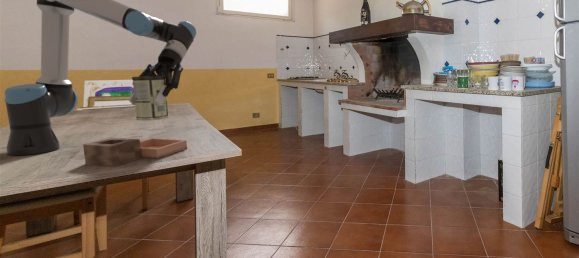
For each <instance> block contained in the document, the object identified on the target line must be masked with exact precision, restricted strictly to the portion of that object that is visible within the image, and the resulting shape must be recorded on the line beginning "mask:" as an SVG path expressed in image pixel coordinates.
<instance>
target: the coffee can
mask: <svg viewBox="0 0 579 258" xmlns="http://www.w3.org/2000/svg"><path fill="white" fill-rule="evenodd" d="M131 79H132V83H133V84H132V86H133V90H134V98H135V105H134V106H135V119H136V120H137V121H157V120H164V119H168V118H169V110H168V96H167V97H166V98H165V99H164V101H163V103H162V105H161V106H159V105H158V104H157V103H156V102H155V101H154V100H155V99H156V97H157V95H158V93H159V92H160V90H161V88H162V86H163V85H165V84H166V82H165V76H142V77H139V76H132V77H131ZM165 86H166V85H165Z"/></svg>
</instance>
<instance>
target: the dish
mask: <svg viewBox="0 0 579 258" xmlns="http://www.w3.org/2000/svg"><path fill="white" fill-rule="evenodd" d="M140 148H141V158H145V159H156V160H157V159H161V158H163V157H166V156H169V155H173V154H175V153H177V152H181V151H184V150H186V149H188V145H187V140H186V139H174V138H173V139H172V138H159V137H158V138H156V137H151V138H148V139H143V140H140Z"/></svg>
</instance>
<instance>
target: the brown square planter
mask: <svg viewBox="0 0 579 258" xmlns="http://www.w3.org/2000/svg"><path fill="white" fill-rule="evenodd" d="M140 141H141V140H140V138H139V139H138V138H124V137H123V138H122V137H110V138H105V139H102V140H97V141H92V142H89V143H84V144H82V148H83V155H84V163H85V165H94V166H101V167H102V166H103V167H113V168H114V167H116V166H120V165H123V164H126V163H129V162H132V161H135V160H139V159H141V158H142V157H141V148H140Z"/></svg>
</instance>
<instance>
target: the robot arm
mask: <svg viewBox="0 0 579 258" xmlns="http://www.w3.org/2000/svg"><path fill="white" fill-rule="evenodd" d="M36 7H37V8H38V9H39V10H41V30H40V31H41V34H40V35H41V39H40V41H41V43H40V44H41V46H40V48H41V49H40V51H41V52H40V77H38V78H37V79H36V80H35V83H26V84H17V85H12V86H10V87H7V88H6V89H5V90H4V102H5V107H6V112H7V118H8V125H9V130H10V131H9V136H8V138H7V139H8V140H7V144H6V154H7V155H8V154H9V156H27V155H38V154H43V153H48V152H49V153H50V152H52V151H56V150H58V149H60V141H59V139H58V138H57V136H56V133H55V132H54V130H53V128H52V124H51V118H55V117H64V116H65V115H68V114H70V113H72V112H74V110H75V109H76V107H77V106H78V102H79V99H78V94H77V92H75V89H73V82H71V80H69V52H70V51H69V46H70V45H69V43H70V41H69V40H70V16H71V15H73V14H74V13H75V10H77V11H80V12H83V13H85V14H87V15H90V16H92V17H95V18H97V19H99V20H101V21H104V22H107V23H109V24H112V25H114V26H117V27H119V28H120V29H121V28H122V29H123V30H125V31H129V32H130V33H132V34H133V35H136V36H139V37H145V38H149V39H153V40H155V41H160V42H162V43H166V44H165V46H164V47H163V48H162V49H161V51H160V53H159V55H158V57H157V63H155V64H154V65H152V64H151V63H148V65H147V66H146V67H145V69H144V70H143V71H142V72H141V73H140V75H138V77H142V76H165V85H166V86H165V85H163V86H162V88H161V90H160V92H159V93H158V95H157V97H156V99H155V100H154V101H155V102H156V103H157V104H158V105H159V106H161V105H162V103H163V101H164V99H165V98H166V97H167V98H168V96H169V94H170V93H171V91H173V89H175V90H176V89H179V85H180V80H181V75H182V72H183V70H184V67H183V66H182V64H181V63H182V61H183V59H184V58H185V56H186V54H187V53H188V50H189V48H190V47H191V45H192V44H193V42H194V40H195V38H196V35H197V29H196V27H195V26H194V25H193V24H192V22H190V21H189V22H188V20H187V21H186V20H183V21H180V22H179V23H178V24H176V23H172V22H169V21H165V20H163V19H161V18H160V19H159V18H158V17H154V16H152V15H150V14H147V13H146V12H143V11H140V10H138V9H135V8H133V7H130V6H128V5H126V4H123V3H121V2H119V1H116V0H36ZM132 85H133V82H132ZM128 101H129V103H130V104H131V105H133V106H135V98H134V89H133V91H132V93H131V94H130V97H129V98H128Z"/></svg>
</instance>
